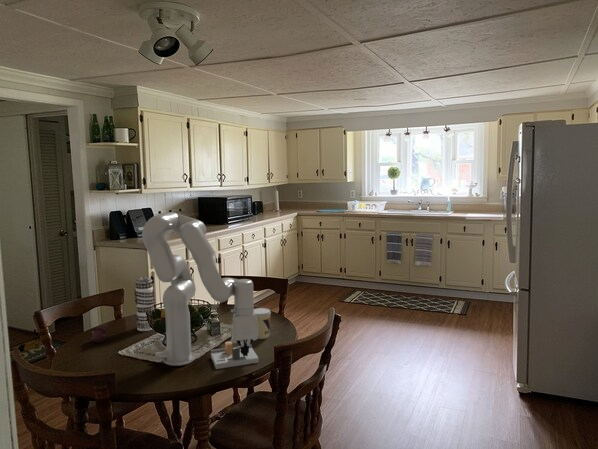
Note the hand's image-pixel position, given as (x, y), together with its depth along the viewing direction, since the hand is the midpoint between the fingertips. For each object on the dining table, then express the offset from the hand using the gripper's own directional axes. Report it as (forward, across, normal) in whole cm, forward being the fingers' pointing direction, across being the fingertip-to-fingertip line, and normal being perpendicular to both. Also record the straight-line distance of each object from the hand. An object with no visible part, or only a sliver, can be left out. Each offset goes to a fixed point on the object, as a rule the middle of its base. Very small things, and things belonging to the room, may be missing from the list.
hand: (244, 354), depth 184 cm
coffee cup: (+3, +14, +25) cm, 29 cm away
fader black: (+1, -4, 0) cm, 4 cm away
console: (+3, -4, +3) cm, 6 cm away
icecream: (+4, -57, +44) cm, 72 cm away
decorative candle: (+4, -36, +56) cm, 66 cm away
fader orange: (+1, -5, +6) cm, 8 cm away
